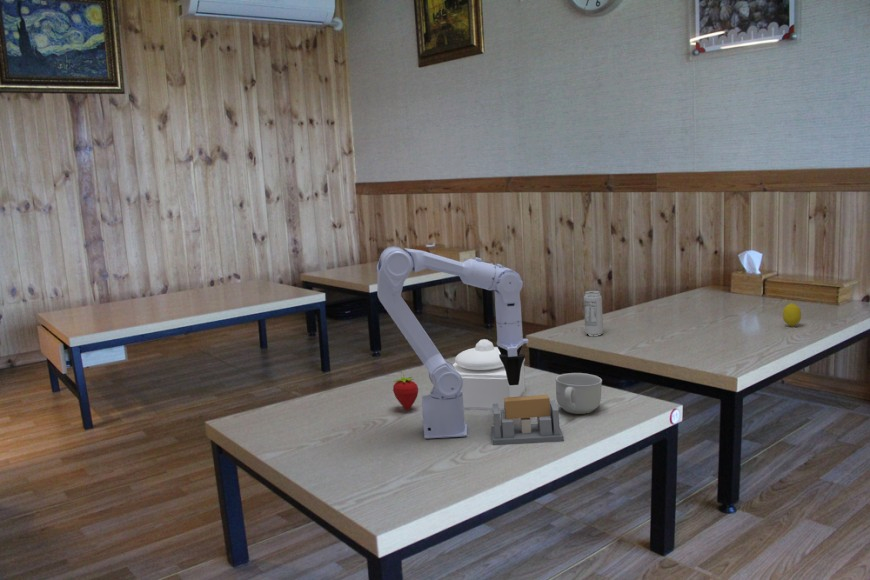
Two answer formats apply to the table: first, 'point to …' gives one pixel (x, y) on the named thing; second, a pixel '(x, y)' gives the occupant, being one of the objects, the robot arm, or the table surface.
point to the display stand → (526, 428)
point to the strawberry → (405, 391)
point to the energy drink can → (593, 313)
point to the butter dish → (485, 377)
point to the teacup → (578, 392)
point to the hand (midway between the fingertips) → (512, 380)
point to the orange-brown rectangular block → (527, 406)
